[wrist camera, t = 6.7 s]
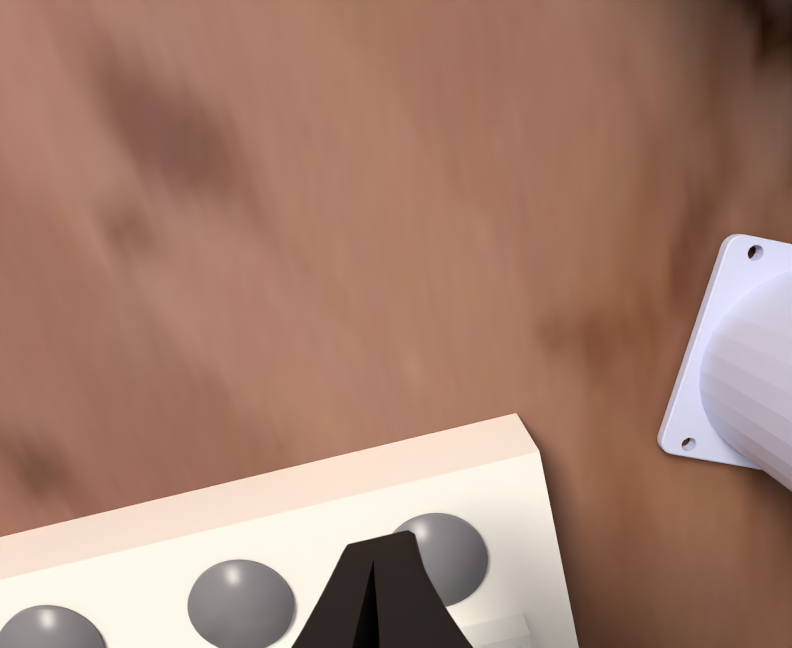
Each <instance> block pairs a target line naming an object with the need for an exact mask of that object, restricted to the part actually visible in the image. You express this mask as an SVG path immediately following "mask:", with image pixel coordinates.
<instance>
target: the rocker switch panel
mask: <svg viewBox="0 0 792 648" xmlns="http://www.w3.org/2000/svg"><path fill="white" fill-rule="evenodd" d="M406 530H409V531H411V532H413V533H414V534H415V536H416V539H417V543H418V547H419V550H420V554H421V558H422V561H423V565H424V568H425V570H426V572H427V574H428V576H429V578H430V580H431V582H432V584H433V586H434V588H435V589H436V591H437V593H438V595H439V597H440V598H441V600H442V602H443V604H444V605H445V607H446V608H447V610H448V612H449V613H450V615H451V616H452V618H453V619H454V621H455V622H456V624H457V625H458V627H459V628H460V630H461V631H462V633H463V634H464V636H465V637H466V638H467V640H468V641H469V642H470V644H471V645H472V646H473V648H579V646H578V641H577V636H576V631H575V626H574V621H573V616H572V611H571V606H570V601H569V596H568V591H567V586H566V582H565V577H564V572H563V567H562V562H561V557H560V552H559V547H558V542H557V537H556V532H555V527H554V522H553V517H552V512H551V507H550V502H549V497H548V492H547V487H546V482H545V477H544V472H543V467H542V462H541V457H540V452H539V450H538V448H537V447H536V445H535V443H534V442H533V440H532V438H531V437H530V435H529V433H528V432H527V430H526V428H525V427H524V425H523V423H522V422H521V420H520V418H519V417H518V415H517V413H515V414H510V415H506V416H502V417H498V418H494V419H490V420H486V421H481V422H477V423H473V424H469V425H465V426H461V427H456V428H452V429H448V430H444V431H440V432H436V433H431V434H427V435H423V436H419V437H415V438H411V439H407V440H402V441H398V442H394V443H390V444H386V445H382V446H377V447H373V448H369V449H365V450H361V451H357V452H352V453H348V454H344V455H340V456H336V457H332V458H328V459H323V460H319V461H315V462H311V463H307V464H303V465H298V466H294V467H290V468H286V469H282V470H278V471H274V472H269V473H265V474H261V475H257V476H253V477H249V478H244V479H240V480H236V481H232V482H228V483H224V484H219V485H215V486H211V487H207V488H203V489H199V490H195V491H190V492H186V493H182V494H178V495H174V496H170V497H165V498H161V499H157V500H153V501H149V502H145V503H140V504H136V505H132V506H128V507H124V508H120V509H116V510H111V511H107V512H103V513H99V514H95V515H91V516H86V517H82V518H78V519H74V520H70V521H66V522H62V523H57V524H53V525H49V526H45V527H41V528H37V529H32V530H28V531H24V532H20V533H16V534H12V535H7V536H3V537H0V648H291V647H292V645H293V644H294V642H295V640H296V639H297V637H298V636H299V634H300V632H301V630H302V629H303V627H304V625H305V623H306V622H307V620H308V618H309V616H310V614H311V613H312V611H313V609H314V607H315V605H316V603H317V602H318V600H319V598H320V596H321V594H322V592H323V590H324V588H325V586H326V584H327V582H328V581H329V579H330V577H331V575H332V573H333V570H334V568H335V566H336V564H337V562H338V560H339V558H340V556H341V554H342V552H343V550H344V549H345V547H346V546H347V544H350V543H355V542H359V541H363V540H367V539H372V538H376V537H380V536H384V535H389V534H393V533H397V532H401V531H406Z"/></svg>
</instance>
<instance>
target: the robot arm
mask: <svg viewBox="0 0 792 648" xmlns="http://www.w3.org/2000/svg"><path fill="white" fill-rule="evenodd" d="M752 246H755V248H756V251H755V254H754V256H753V257H752V258H750V259H749V257H748V250H749V249H750V247H752ZM686 438H690V441H689V443H688V444H687V445H685V446H682V442H683V441H684V440H685V439H686ZM657 442H658V445H659V446H660V447H661V448H662V449H663V450H664V451H665V452H667V453H669V454H673V455H679V456H685V457H690V458H696V459H702V460H708V461H714V462H719V463H725V464H731V465H737V466H743V467H748V468H754V469H760V470H764V471H765V472H766V473H768V474H769V475H770V476H772V477H773V478H774V479H776V480H777V481H778V482H780V483H781V484H782V485H784V486H785V487H786V488H788V489H789V490H790V491H792V244H788V243H783V242H778V241H773V240H768V239H764V238H759V237H754V236H749V235H743V234H733V235H731V236H728V237H727V238H726V239H725V240H724V241H723V243H722V245H721V247H720V250H719V253H718V256H717V259H716V262H715V265H714V268H713V271H712V274H711V277H710V280H709V283H708V286H707V289H706V292H705V295H704V298H703V301H702V304H701V307H700V310H699V313H698V316H697V319H696V322H695V325H694V328H693V331H692V334H691V337H690V340H689V343H688V346H687V349H686V352H685V355H684V358H683V361H682V364H681V367H680V370H679V373H678V376H677V379H676V382H675V385H674V388H673V391H672V394H671V397H670V400H669V403H668V406H667V409H666V412H665V416H664V419H663V422H662V425H661V428H660V431H659V434H658V438H657ZM291 648H473V646H472V645H471V644H470V642H469V641H468V640H467V638H466V637H465V636H464V634H463V633H462V631H461V630H460V628H459V627H458V625H457V624H456V622H455V621H454V619H453V618H452V616H451V615H450V613H449V612H448V610H447V608H446V607H445V605H444V604H443V602H442V600H441V598H440V597H439V595H438V593H437V591H436V589H435V588H434V586H433V584H432V582H431V580H430V578H429V576H428V574H427V572H426V570H425V568H424V565H423V561H422V558H421V554H420V550H419V547H418V543H417V539H416V536H415V534H414V533H413V532H411V531H409V530H406V531H401V532H397V533H393V534H389V535H384V536H380V537H376V538H372V539H367V540H363V541H359V542H355V543H350V544H347V546H346V547H345V549H344V550H343V552H342V554H341V556H340V558H339V560H338V562H337V564H336V566H335V568H334V570H333V573H332V575H331V577H330V579H329V581H328V582H327V584H326V586H325V588H324V590H323V592H322V594H321V596H320V598H319V600H318V602H317V603H316V605H315V607H314V609H313V611H312V613H311V614H310V616H309V618H308V620H307V622H306V623H305V625H304V627H303V629H302V630H301V632H300V634H299V636H298V637H297V639H296V640H295V642H294V644H293V645H292V647H291Z"/></svg>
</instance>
